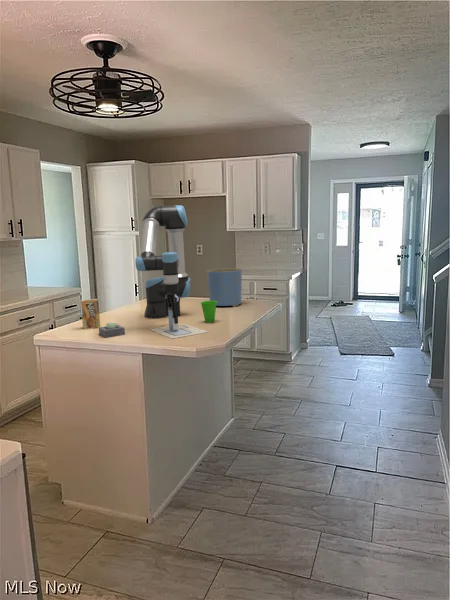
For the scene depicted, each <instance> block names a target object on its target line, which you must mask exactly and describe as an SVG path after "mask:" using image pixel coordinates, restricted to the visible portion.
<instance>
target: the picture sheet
mask: <svg viewBox="0 0 450 600" xmlns="http://www.w3.org/2000/svg"><path fill="white" fill-rule="evenodd" d="M178 328H179V330H177V331H170V329H169V325H167V326H163V327H156V328H151V329H149V330H150V331H152V332H154V333H157V334H159V335H161V336H164V337H166V338H168V339H172V340H174V339H180V338H185V336H186V337H190V336H195V335H202V334H206V333H209V331H207V330H206V329H205V330H204V329H202V328H201V329H200V327H199V328H198V327H196V326H192V325H189V324H186V323H180V324H179V323H178ZM179 337H180V338H179Z"/></svg>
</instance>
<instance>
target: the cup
mask: <svg viewBox="0 0 450 600" xmlns="http://www.w3.org/2000/svg"><path fill="white" fill-rule="evenodd" d="M200 303H201V308H202V314H203V318H204V322H205V323H210V324H211V323H214V322H215V318H216V308H217V306H216V303H217V301H210V300H203V301H201V302H200Z"/></svg>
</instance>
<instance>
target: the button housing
mask: <svg viewBox="0 0 450 600" xmlns="http://www.w3.org/2000/svg"><path fill="white" fill-rule="evenodd" d="M125 330H126V329H125V327H124V326H122V325H120V324H116V328H114V329H107V325H105V326H100V327H98V334H99V335H100V336H101V337H103V338H112V337H118V336H125V335H126V331H125Z"/></svg>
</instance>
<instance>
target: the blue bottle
mask: <svg viewBox="0 0 450 600" xmlns="http://www.w3.org/2000/svg"><path fill="white" fill-rule="evenodd" d="M168 313H169V321H168V326H169V329H170V331H177V330H173V319H172V317H173V311H172V307H168Z"/></svg>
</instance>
